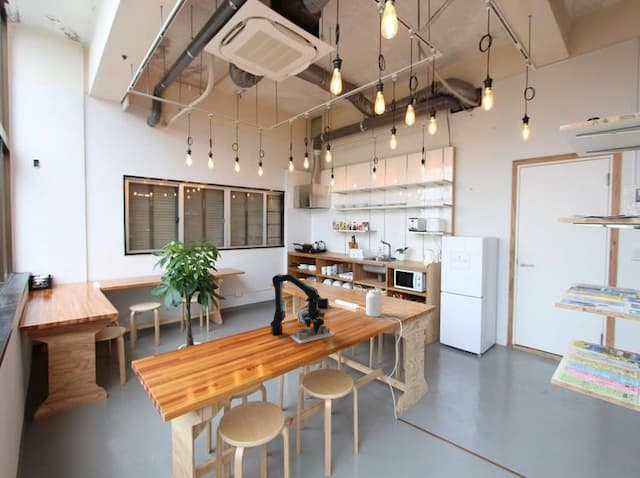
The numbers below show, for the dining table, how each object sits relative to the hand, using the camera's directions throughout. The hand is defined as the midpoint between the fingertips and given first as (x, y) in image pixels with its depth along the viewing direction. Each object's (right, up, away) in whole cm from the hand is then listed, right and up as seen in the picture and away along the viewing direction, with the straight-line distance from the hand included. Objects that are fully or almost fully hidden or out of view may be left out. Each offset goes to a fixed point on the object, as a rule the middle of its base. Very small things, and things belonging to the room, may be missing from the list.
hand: (312, 331), depth 198 cm
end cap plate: (0, -3, 0) cm, 3 cm away
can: (+49, -1, +48) cm, 69 cm away
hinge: (-5, -2, +34) cm, 35 cm away
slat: (0, -2, 0) cm, 2 cm away
